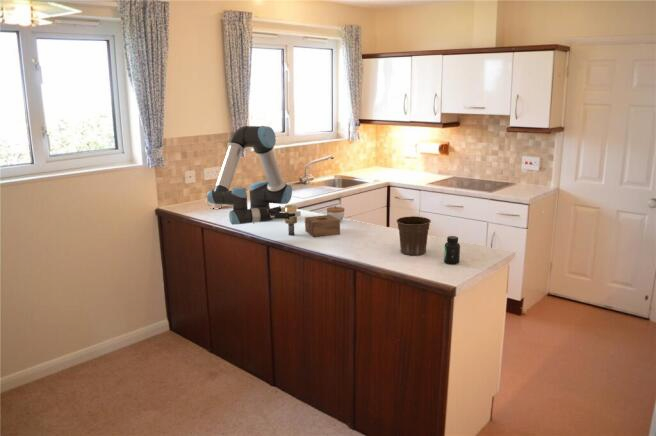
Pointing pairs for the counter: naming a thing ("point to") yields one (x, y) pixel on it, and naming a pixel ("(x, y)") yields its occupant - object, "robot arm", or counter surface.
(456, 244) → the supplement bottle
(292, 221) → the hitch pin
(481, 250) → the counter surface
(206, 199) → the teacup with lid
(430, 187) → the counter surface
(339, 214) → the lidded jar
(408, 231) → the plant pot
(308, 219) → the block
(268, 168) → the robot arm
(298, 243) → the counter surface
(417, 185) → the counter surface
